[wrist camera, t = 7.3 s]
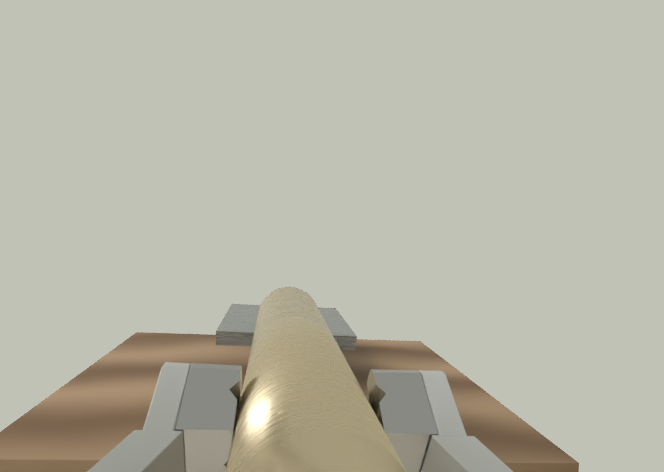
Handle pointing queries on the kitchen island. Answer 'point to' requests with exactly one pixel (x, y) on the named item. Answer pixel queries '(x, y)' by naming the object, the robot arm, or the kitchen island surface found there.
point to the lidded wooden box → (157, 348)
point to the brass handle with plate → (301, 392)
